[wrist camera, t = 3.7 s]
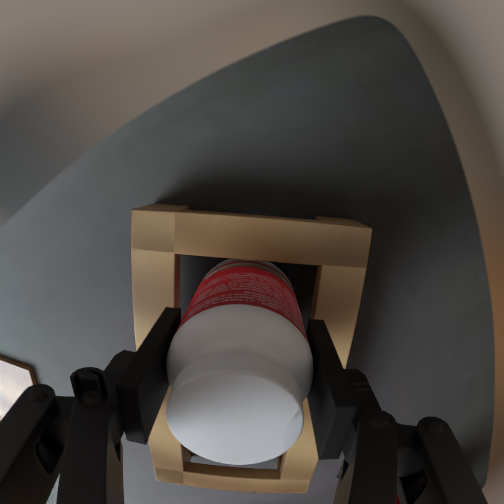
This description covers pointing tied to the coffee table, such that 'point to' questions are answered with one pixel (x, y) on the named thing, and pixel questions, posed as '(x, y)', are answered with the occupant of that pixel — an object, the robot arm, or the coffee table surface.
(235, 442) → the pill bottle
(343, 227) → the bottle rack
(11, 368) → the brown flat square
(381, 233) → the coffee table surface
